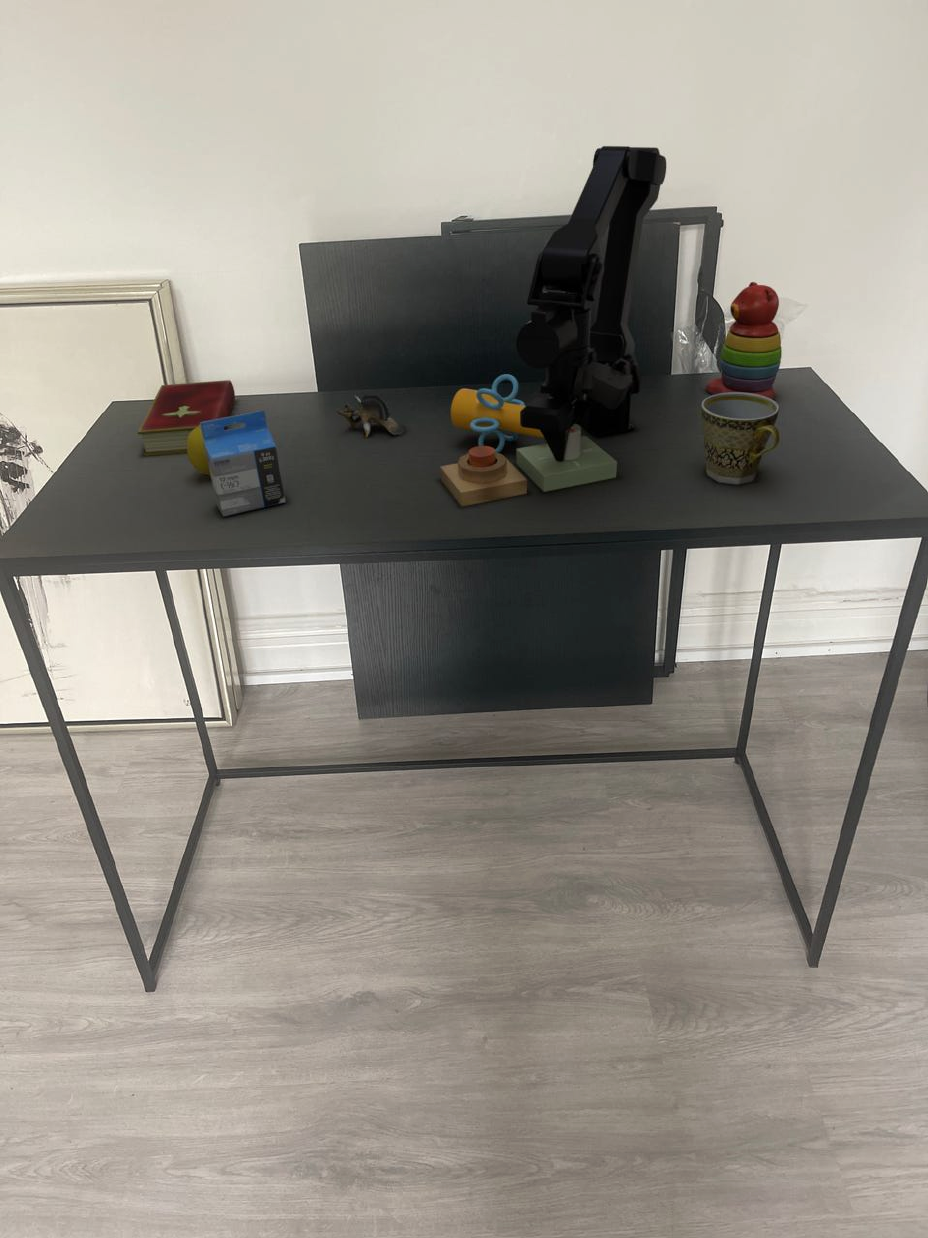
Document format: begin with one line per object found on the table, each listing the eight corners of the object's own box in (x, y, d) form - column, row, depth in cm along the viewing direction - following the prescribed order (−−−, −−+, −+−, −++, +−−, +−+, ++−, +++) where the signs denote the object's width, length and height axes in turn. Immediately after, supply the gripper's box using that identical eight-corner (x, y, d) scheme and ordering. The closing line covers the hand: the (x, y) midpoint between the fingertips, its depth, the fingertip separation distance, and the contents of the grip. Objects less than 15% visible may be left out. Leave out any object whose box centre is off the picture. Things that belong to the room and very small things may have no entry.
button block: (503, 468, 131) (502, 442, 129) (527, 494, 124) (527, 467, 122) (440, 480, 129) (439, 454, 126) (461, 507, 122) (460, 479, 119)
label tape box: (222, 518, 122) (203, 431, 115) (216, 506, 125) (198, 421, 118) (286, 503, 125) (272, 418, 118) (279, 492, 128) (264, 408, 121)
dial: (547, 451, 129) (547, 422, 127) (572, 446, 130) (573, 418, 128) (558, 462, 126) (558, 433, 124) (584, 457, 127) (585, 428, 124)
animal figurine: (336, 435, 141) (389, 428, 138) (334, 389, 141) (387, 381, 138) (358, 444, 148) (409, 437, 145) (356, 400, 148) (407, 393, 145)
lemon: (198, 487, 130) (186, 435, 126) (189, 473, 134) (177, 422, 130) (236, 478, 132) (225, 426, 128) (226, 465, 136) (215, 414, 132)
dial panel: (585, 451, 135) (585, 434, 133) (616, 477, 127) (617, 460, 125) (516, 464, 132) (516, 447, 130) (543, 492, 124) (543, 474, 123)
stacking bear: (702, 387, 154) (714, 279, 144) (760, 382, 155) (776, 274, 145) (724, 410, 145) (738, 296, 135) (786, 405, 146) (804, 291, 136)
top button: (489, 455, 126) (489, 443, 125) (499, 465, 123) (499, 453, 122) (465, 460, 125) (465, 448, 124) (474, 470, 122) (473, 458, 121)
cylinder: (440, 455, 136) (529, 475, 129) (436, 388, 130) (529, 405, 123) (481, 426, 144) (566, 442, 138) (479, 361, 138) (568, 376, 132)
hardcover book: (236, 401, 159) (231, 378, 156) (221, 449, 141) (216, 423, 139) (166, 406, 158) (161, 383, 156) (143, 455, 141) (137, 430, 138)
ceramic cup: (680, 468, 129) (686, 400, 123) (738, 453, 132) (747, 386, 126) (737, 505, 119) (747, 433, 113) (799, 488, 122) (811, 417, 116)
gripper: (602, 373, 109) (597, 491, 118) (648, 329, 123) (641, 438, 132) (517, 363, 114) (519, 478, 122) (571, 322, 127) (569, 427, 136)
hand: (565, 454), depth 128 cm, fingers open, 4 cm apart
